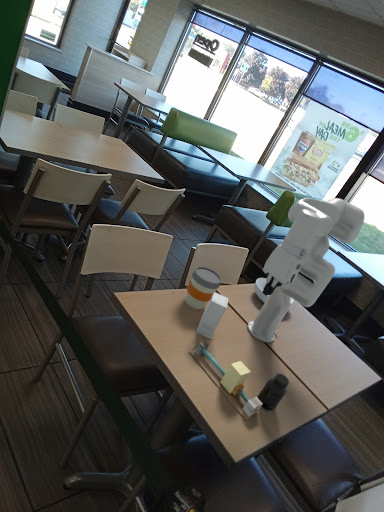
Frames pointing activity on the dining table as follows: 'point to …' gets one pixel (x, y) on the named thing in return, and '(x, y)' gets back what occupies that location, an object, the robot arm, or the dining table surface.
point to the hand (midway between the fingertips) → (266, 293)
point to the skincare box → (212, 315)
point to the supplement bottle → (273, 392)
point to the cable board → (216, 373)
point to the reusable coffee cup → (202, 287)
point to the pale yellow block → (235, 376)
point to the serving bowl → (259, 289)
